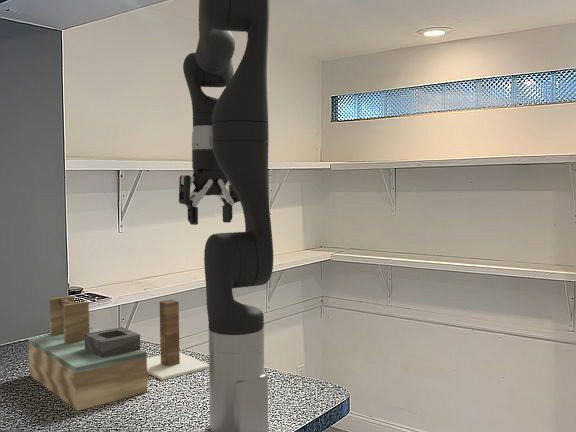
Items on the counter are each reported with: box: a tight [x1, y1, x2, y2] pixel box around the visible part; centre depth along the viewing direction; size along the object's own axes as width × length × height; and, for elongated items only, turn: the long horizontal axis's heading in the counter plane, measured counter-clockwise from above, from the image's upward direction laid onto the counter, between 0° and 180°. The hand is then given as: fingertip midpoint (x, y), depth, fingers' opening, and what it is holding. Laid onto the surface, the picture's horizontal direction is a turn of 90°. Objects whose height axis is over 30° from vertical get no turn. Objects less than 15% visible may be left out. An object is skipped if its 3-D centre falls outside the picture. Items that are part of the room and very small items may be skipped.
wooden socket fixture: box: [27, 295, 148, 412], centre depth 122 cm, size 26×14×16 cm, turn 41°
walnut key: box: [159, 299, 181, 366], centre depth 132 cm, size 3×3×14 cm
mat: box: [147, 351, 209, 381], centre depth 133 cm, size 14×12×1 cm
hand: (210, 223), depth 129 cm, fingers open, 8 cm apart
